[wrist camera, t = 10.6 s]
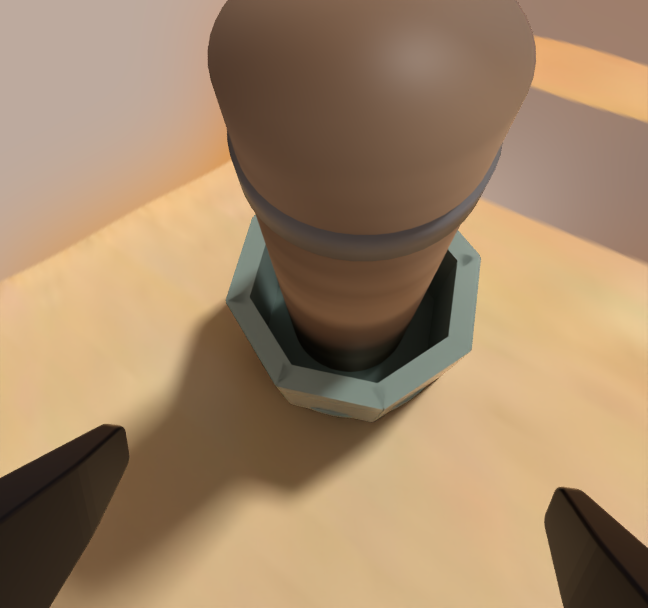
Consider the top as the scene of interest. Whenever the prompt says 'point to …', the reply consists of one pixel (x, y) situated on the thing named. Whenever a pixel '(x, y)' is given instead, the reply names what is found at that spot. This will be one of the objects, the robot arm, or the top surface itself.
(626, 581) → the robot arm
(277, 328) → the pot
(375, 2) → the pepper mill
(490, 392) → the top surface
